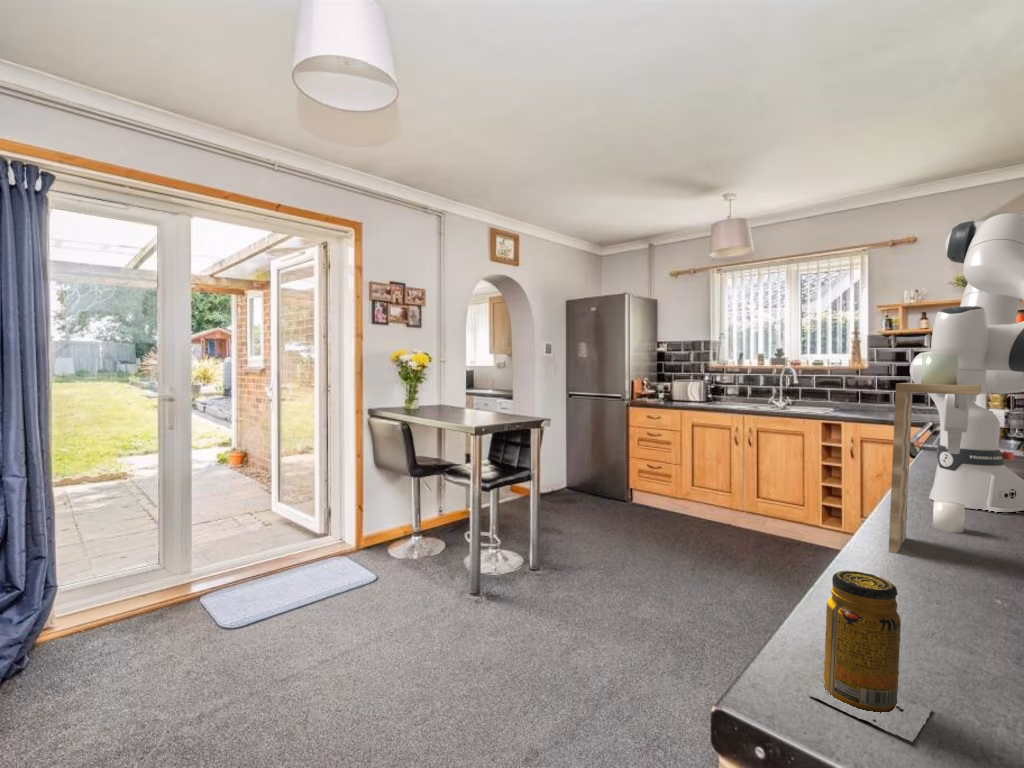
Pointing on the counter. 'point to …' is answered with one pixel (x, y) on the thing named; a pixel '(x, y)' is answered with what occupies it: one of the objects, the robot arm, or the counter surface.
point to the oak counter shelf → (903, 451)
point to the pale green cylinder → (939, 369)
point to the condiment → (862, 641)
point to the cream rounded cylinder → (948, 516)
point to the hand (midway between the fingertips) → (953, 451)
